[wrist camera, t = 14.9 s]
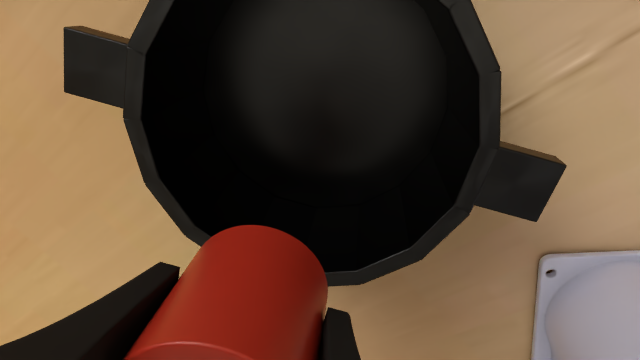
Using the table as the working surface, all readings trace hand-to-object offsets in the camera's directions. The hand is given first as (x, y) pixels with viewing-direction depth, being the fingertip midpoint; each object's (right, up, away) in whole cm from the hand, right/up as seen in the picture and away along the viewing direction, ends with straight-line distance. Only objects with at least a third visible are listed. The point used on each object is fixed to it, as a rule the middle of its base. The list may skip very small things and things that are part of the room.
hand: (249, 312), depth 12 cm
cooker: (+2, +8, +8) cm, 11 cm away
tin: (0, +1, +1) cm, 1 cm away
